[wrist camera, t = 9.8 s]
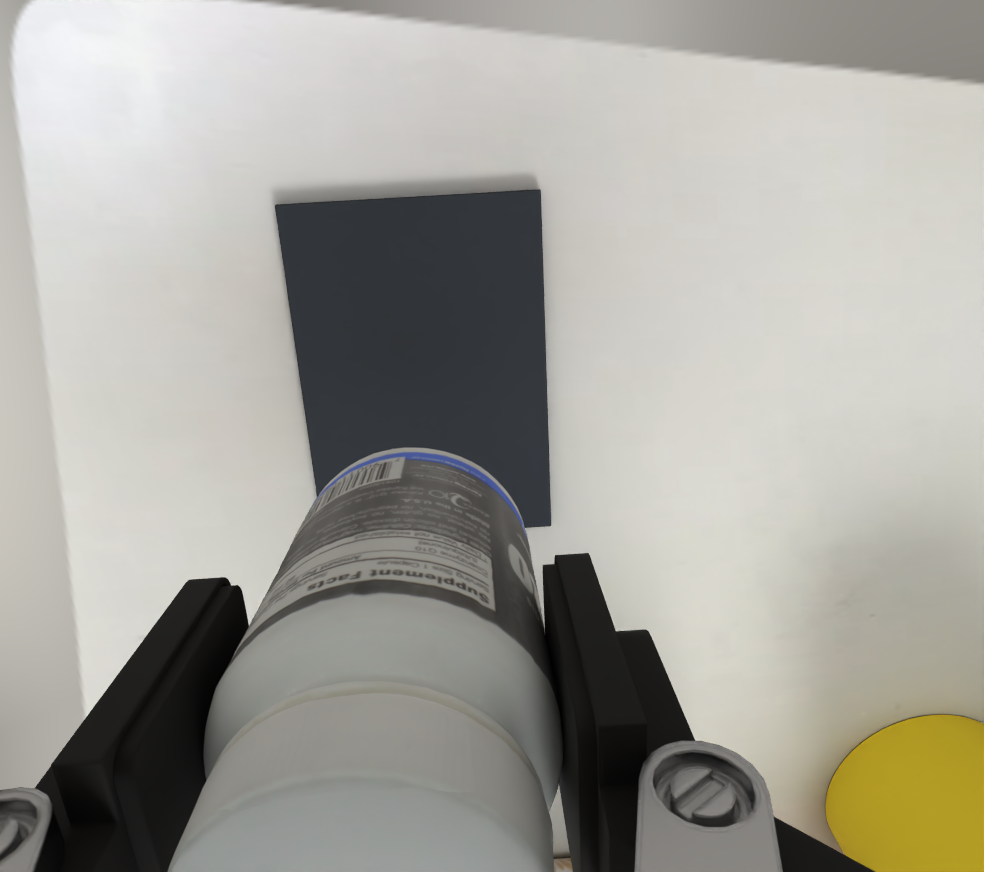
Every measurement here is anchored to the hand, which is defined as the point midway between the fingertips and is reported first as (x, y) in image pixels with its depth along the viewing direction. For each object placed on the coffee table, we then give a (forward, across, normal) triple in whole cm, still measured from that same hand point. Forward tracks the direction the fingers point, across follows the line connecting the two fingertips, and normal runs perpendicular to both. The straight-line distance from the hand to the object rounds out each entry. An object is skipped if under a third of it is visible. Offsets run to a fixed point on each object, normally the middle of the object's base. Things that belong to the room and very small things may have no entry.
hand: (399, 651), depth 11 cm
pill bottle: (+4, 0, 0) cm, 4 cm away
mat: (+19, +1, 0) cm, 19 cm away
